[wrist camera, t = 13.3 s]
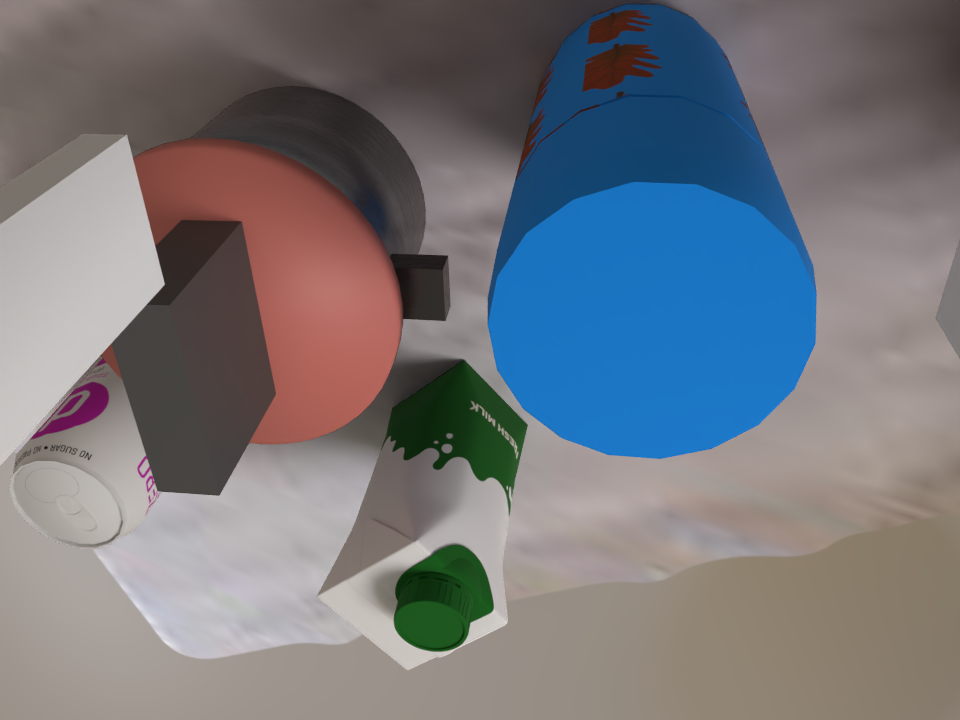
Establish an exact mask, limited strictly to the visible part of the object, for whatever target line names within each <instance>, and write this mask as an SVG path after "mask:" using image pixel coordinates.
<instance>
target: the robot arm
mask: <svg viewBox="0 0 960 720" xmlns="http://www.w3.org/2000/svg"><path fill="white" fill-rule="evenodd" d="M164 285H165V283H164V279H163V275H162V271H161V267H160V263H159V259H158V255H157V252H156V248H155V244H154V240H153V236H152V232H151V228H150V224H149V220H148V216H147V212H146V208H145V204H144V200H143V196H142V192H141V189H140V185H139V181H138V177H137V173H136V169H135V165H134V161H133V157H132V153H131V149H130V145H129V141H128V137H127V135H121V134H82V135H80V136H78V137H77V138H75V139H74V140H72V141H71V142H69V143H68V144H66V145H65V146H63V147H61V148H60V149H58V150H57V151H55V152H54V153H52V154H51V155H49V156H48V157H46V158H45V159H43V160H41V161H40V162H38V163H37V164H35V165H34V166H32V167H31V168H29V169H28V170H26V171H25V172H23V173H21V174H20V175H18V176H17V177H15V178H14V179H12V180H11V181H9V182H8V183H6V184H4V185H3V186H1V187H0V465H1V464H2V463H3V462H4V461H5V459H6V458H7V457H8V456H9V455H10V454H11V453H12V452H13V451H14V450H15V449H16V448H17V446H18V445H19V444H20V443H21V442H22V441H23V440H24V439H25V438H26V437H27V435H28V434H29V433H30V432H31V431H32V430H33V429H34V428H35V427H36V426H37V424H38V423H39V422H40V421H41V420H42V419H43V418H44V417H45V416H46V415H47V414H48V412H49V411H50V410H51V409H52V408H53V407H54V406H55V405H56V404H57V403H58V401H59V400H60V399H61V398H62V397H63V396H64V395H65V394H66V393H67V392H68V390H69V389H70V388H71V387H72V386H73V385H74V384H75V383H76V382H77V381H78V379H79V378H80V377H81V376H82V375H83V374H84V373H85V372H86V371H87V370H88V368H89V367H90V366H91V365H92V364H93V363H94V362H95V361H96V360H97V359H98V357H99V356H100V355H101V354H102V353H103V352H104V351H105V350H106V349H107V348H108V346H109V345H110V344H111V343H112V342H113V341H114V340H115V339H116V338H117V337H118V336H119V334H120V333H121V332H122V331H123V330H124V329H125V328H126V327H127V326H128V325H129V323H130V322H131V321H132V320H133V319H134V318H135V317H136V316H137V315H138V314H139V312H140V311H141V310H142V309H143V308H144V307H145V306H146V305H147V304H148V303H149V301H150V300H151V299H152V298H153V297H154V296H155V295H156V294H157V293H158V292H159V290H160V289H161V288H162V287H163V286H164ZM936 320H937V321H938V323H939V325H940V326H941V328H942V330H943V331H944V333H945V335H946V336H947V338H948V340H949V342H950V343H951V345H952V347H953V348H954V350H955V352H956V353H957V355H958V357H959V358H960V240H959V243H958V246H957V250H956V253H955V256H954V259H953V263H952V266H951V269H950V273H949V276H948V279H947V282H946V286H945V289H944V292H943V295H942V299H941V302H940V305H939V309H938V312H937V315H936Z"/></svg>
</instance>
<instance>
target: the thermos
mask: <svg viewBox="0 0 960 720" xmlns="http://www.w3.org/2000/svg"><path fill="white" fill-rule="evenodd" d="M488 328H489V333H490V337H491V342H492V347H493V352H494V357H495V361H496V366H497V370H498V372H499V373H500V375H501V376H502V378H503V379H504V381H505V382H506V384H507V385H508V387H509V388H510V390H511V391H512V393H513V394H514V396H515V397H516V399H517V400H518V402H519V403H520V405H521V406H522V408H523V409H524V410H525V411H527V412H528V413H529V414H531V415H532V416H533V417H535V418H536V419H537V420H539V421H540V422H541V423H543V424H544V425H545V426H547V427H548V428H549V429H551V430H552V431H553V432H554V433H556V434H557V435H558V436H560V437H561V438H563V439H566V440H569V441H572V442H574V443H577V444H580V445H583V446H585V447H588V448H591V449H594V450H596V451H599V452H602V453H605V454H607V455H617V456H630V457H643V458H657V459H661V458H667V457H672V456H677V455H682V454H687V453H692V452H697V451H702V450H708V449H712V448H714V447H716V446H718V445H720V444H722V443H724V442H726V441H728V440H730V439H732V438H734V437H736V436H738V435H740V434H741V433H743V432H745V431H747V430H749V429H751V428H753V427H755V426H757V425H759V424H760V423H761V422H762V421H763V420H764V419H765V418H766V417H767V416H768V415H769V414H770V413H771V412H772V411H773V410H774V409H775V408H776V407H777V406H778V405H779V404H780V403H781V402H782V401H783V400H784V399H785V398H786V397H787V396H788V395H789V394H790V393H791V392H792V391H793V390H794V389H795V387H796V385H797V382H798V380H799V378H800V376H801V374H802V372H803V369H804V367H805V365H806V363H807V361H808V358H809V356H810V354H811V352H812V350H813V348H814V345H815V338H816V285H815V277H814V269H813V264H812V262H811V259H810V257H809V254H808V252H807V249H806V247H805V245H804V242H803V240H802V237H801V235H800V232H799V230H798V227H797V225H796V223H795V220H794V218H793V215H792V213H791V210H790V208H789V205H788V203H787V201H786V198H785V196H784V193H783V191H782V188H781V186H780V183H779V181H778V179H777V176H776V174H775V171H774V169H773V166H772V164H771V161H770V159H769V157H768V154H767V152H766V149H765V147H764V144H763V142H762V139H761V137H760V135H759V132H758V130H757V127H756V125H755V122H754V120H753V117H752V115H751V113H750V110H749V108H748V105H747V103H746V100H745V98H744V95H743V93H742V91H741V88H740V86H739V84H738V81H737V79H736V77H735V74H734V72H733V70H732V67H731V65H730V63H729V60H728V58H727V56H726V55H725V53H724V52H723V50H722V49H721V47H720V46H719V45H718V43H717V42H716V40H715V39H714V38H712V37H711V36H710V35H709V34H708V33H707V32H706V31H705V30H704V29H703V28H702V27H701V26H700V25H699V24H698V23H697V22H696V21H695V20H694V19H693V18H692V17H690V16H687V15H685V14H682V13H680V12H677V11H675V10H672V9H670V8H668V7H665V6H663V5H648V4H625V5H622V6H620V7H617V8H614V9H611V10H608V11H605V12H603V13H600V14H597V15H594V16H592V17H591V18H590V19H589V20H587V21H586V22H585V23H584V24H583V25H581V26H580V27H579V28H578V29H576V30H575V31H574V32H573V33H572V34H570V35H569V36H568V37H567V38H566V39H565V41H564V42H563V44H562V46H561V47H560V49H559V51H558V52H557V54H556V55H555V57H554V59H553V60H552V62H551V64H550V65H549V67H548V69H547V71H546V73H545V75H544V78H543V80H542V82H541V84H540V87H539V91H538V94H537V98H536V102H535V106H534V110H533V114H532V118H531V121H530V125H529V129H528V133H527V137H526V141H525V145H524V149H523V152H522V156H521V160H520V164H519V168H518V172H517V176H516V180H515V183H514V187H513V191H512V195H511V199H510V203H509V207H508V211H507V214H506V218H505V222H504V226H503V230H502V234H501V238H500V241H499V245H498V249H497V254H496V259H495V264H494V269H493V274H492V280H491V285H490V290H489V295H488Z"/></svg>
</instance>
